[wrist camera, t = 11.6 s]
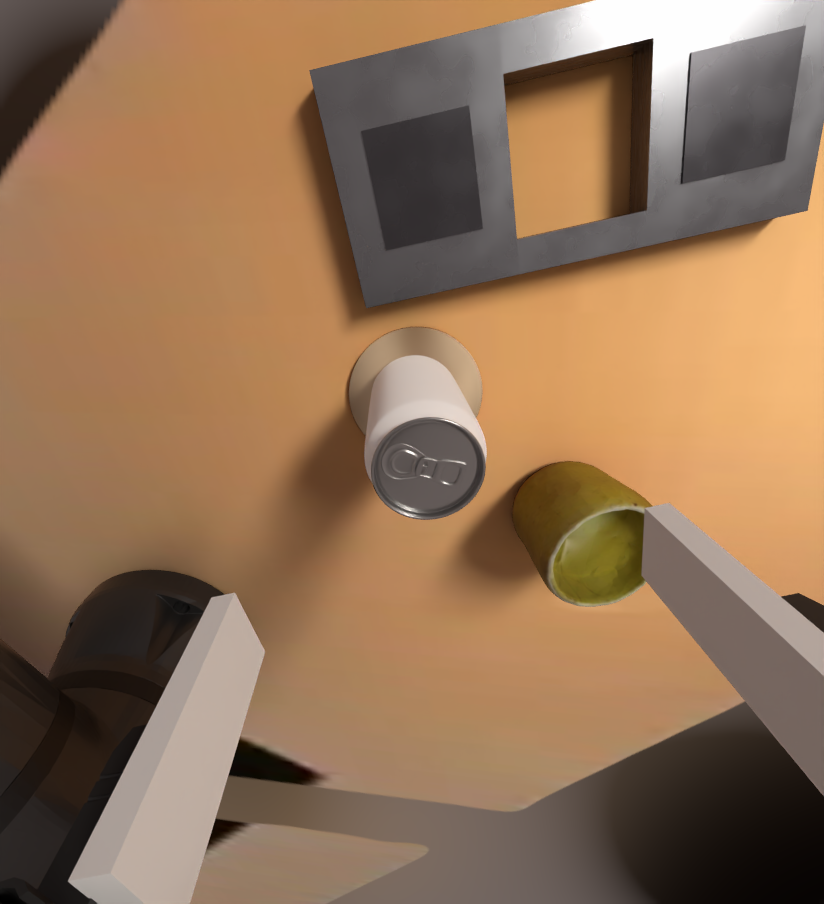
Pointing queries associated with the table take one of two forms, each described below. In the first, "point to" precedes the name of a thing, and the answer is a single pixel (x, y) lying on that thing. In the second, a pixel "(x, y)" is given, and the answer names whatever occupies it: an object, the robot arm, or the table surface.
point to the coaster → (405, 345)
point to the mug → (582, 532)
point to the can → (422, 440)
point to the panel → (652, 135)
